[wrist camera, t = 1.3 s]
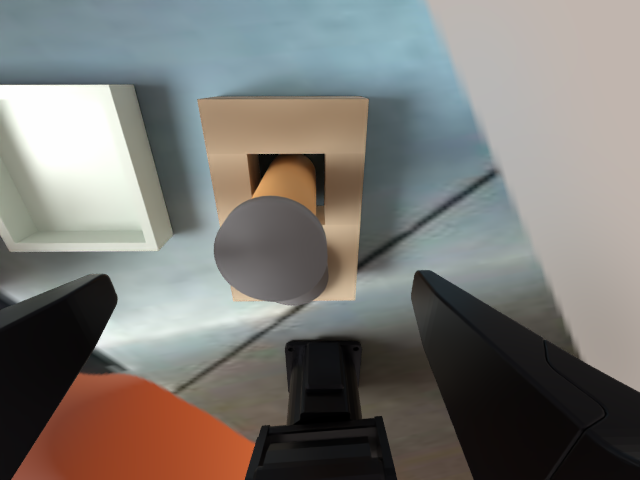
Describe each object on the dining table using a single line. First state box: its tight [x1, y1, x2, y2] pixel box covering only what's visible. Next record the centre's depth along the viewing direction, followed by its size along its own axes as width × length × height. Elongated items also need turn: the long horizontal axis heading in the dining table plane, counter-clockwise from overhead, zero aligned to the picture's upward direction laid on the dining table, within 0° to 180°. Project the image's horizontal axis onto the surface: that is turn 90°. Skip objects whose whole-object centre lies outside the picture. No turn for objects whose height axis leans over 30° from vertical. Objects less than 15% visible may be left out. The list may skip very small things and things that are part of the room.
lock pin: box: [214, 154, 328, 302], centre depth 14 cm, size 4×4×10 cm
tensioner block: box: [197, 96, 369, 305], centre depth 17 cm, size 12×8×4 cm, turn 0°
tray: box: [0, 85, 173, 252], centre depth 17 cm, size 9×9×2 cm
